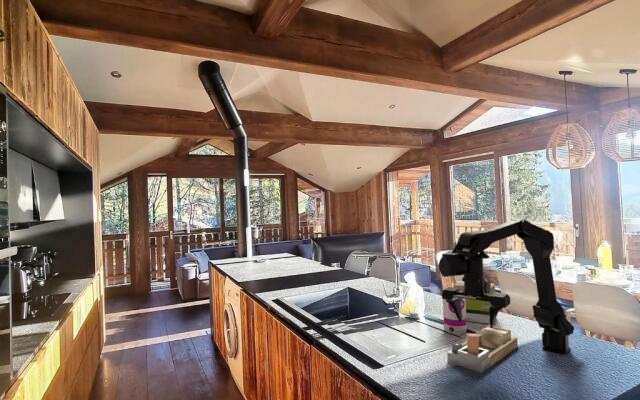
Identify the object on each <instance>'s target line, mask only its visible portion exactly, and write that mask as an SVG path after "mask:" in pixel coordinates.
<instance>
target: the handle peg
mask: <svg viewBox="0 0 640 400" xmlns="http://www.w3.org/2000/svg"><path fill="white" fill-rule="evenodd" d="M466 341H467V347H468V353H471V354H474V355H479V348H480V345H479V337H478V334H475V333H467V334H466Z"/></svg>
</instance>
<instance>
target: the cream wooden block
mask: <svg viewBox="0 0 640 400" xmlns="http://www.w3.org/2000/svg"><path fill="white" fill-rule="evenodd" d="M480 333H481V346H482V347H485V348H486V347H487V348H491V349H493V350H496V349H497V348H499V347H500V346H502V345H503V344H505V343H506V342H508V341H509V340H510V339H512V330H511V329H509V328H502V327H499V326H493V328H491V327H490V324H489V325H487V326H486V327H483V328H481V330H480Z"/></svg>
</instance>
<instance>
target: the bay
mask: <svg viewBox="0 0 640 400" xmlns="http://www.w3.org/2000/svg"><path fill="white" fill-rule="evenodd" d="M477 335H478V337H479V346H482V344H481V332H480V333H479V334H477ZM461 344H462V348H463V347H464V346H466V345H467V340H466V341H464V342H462V343H461ZM518 344H519V343H518V337H516V336H513V337H511V339H510V340H509V341H508V342H506V343H505V344H503V345H502V346H500V347H499V348H497V349H493V350H492V351H491V352H489V356H490V358H491V367H492V366H493V365H495V364H496V363H497V362H499V361H500V360H502V359H503V358H504V357H507V355H508V354H510V353H511V352H513V351H514V350H516V348H518V346H519V345H518ZM512 350H513V351H512Z"/></svg>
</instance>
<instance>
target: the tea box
mask: <svg viewBox="0 0 640 400" xmlns="http://www.w3.org/2000/svg"><path fill="white" fill-rule="evenodd" d="M490 283H491V286H490V293H487V294H486V293H485V295H493V294H494V293H496V284H495V283H493V282H490ZM453 288H459V289H460V290H461V291H464V281H461V280H458V281H456V283H454V284H453ZM468 296H469V295H468ZM480 298H481V297H480ZM465 299H466V298H465ZM490 306H492V305H491V304H490V302H487V301H480V300H473V299H466V322H474V323H480V324H481V323H483V324H489V325H490V313H489V307H490Z"/></svg>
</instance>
